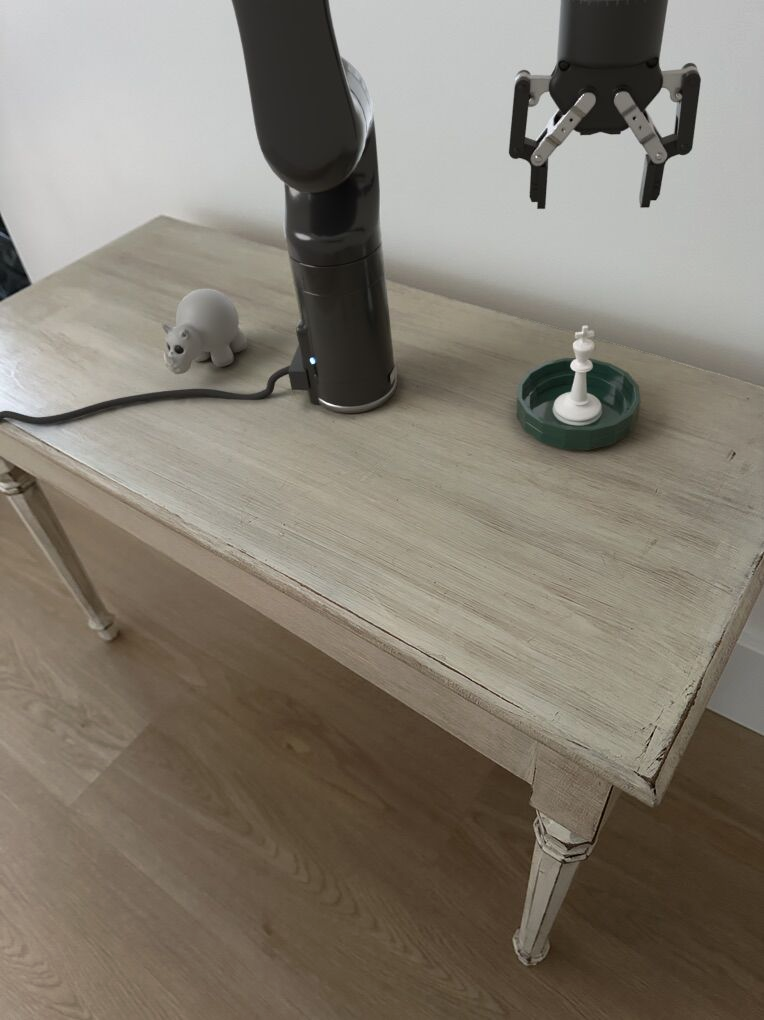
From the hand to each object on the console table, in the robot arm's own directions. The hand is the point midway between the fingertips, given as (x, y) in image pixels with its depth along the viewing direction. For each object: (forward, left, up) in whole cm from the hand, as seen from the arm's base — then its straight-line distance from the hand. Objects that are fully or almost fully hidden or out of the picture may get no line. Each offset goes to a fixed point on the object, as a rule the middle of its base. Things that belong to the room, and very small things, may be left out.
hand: (591, 204), depth 68 cm
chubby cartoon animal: (-43, +7, -22) cm, 48 cm away
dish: (0, -1, -22) cm, 22 cm away
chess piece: (0, -1, -21) cm, 21 cm away
